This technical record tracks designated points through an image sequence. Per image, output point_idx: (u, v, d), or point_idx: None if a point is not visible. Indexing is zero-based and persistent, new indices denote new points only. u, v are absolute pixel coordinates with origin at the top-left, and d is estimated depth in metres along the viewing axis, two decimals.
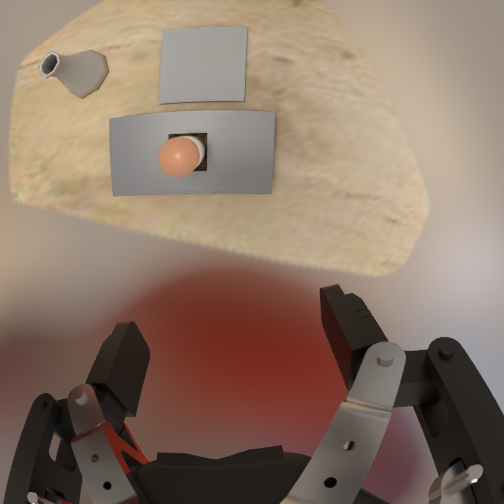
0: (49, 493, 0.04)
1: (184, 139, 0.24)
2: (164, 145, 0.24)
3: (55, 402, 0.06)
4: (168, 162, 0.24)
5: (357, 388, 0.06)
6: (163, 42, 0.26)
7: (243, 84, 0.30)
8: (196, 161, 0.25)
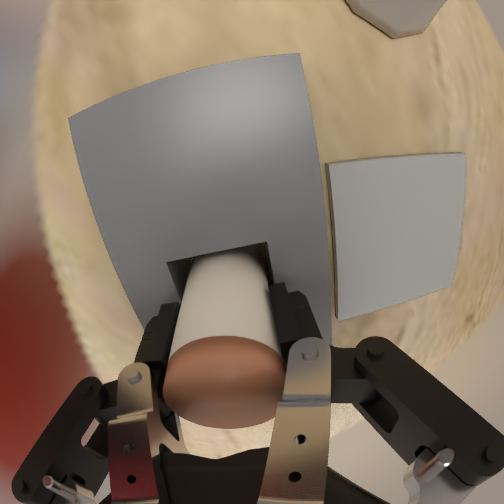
0: (68, 479, 0.04)
1: None
2: (259, 371, 0.07)
3: (103, 390, 0.07)
4: (205, 386, 0.07)
5: (290, 386, 0.06)
6: (448, 157, 0.14)
7: (366, 311, 0.19)
8: (227, 427, 0.08)
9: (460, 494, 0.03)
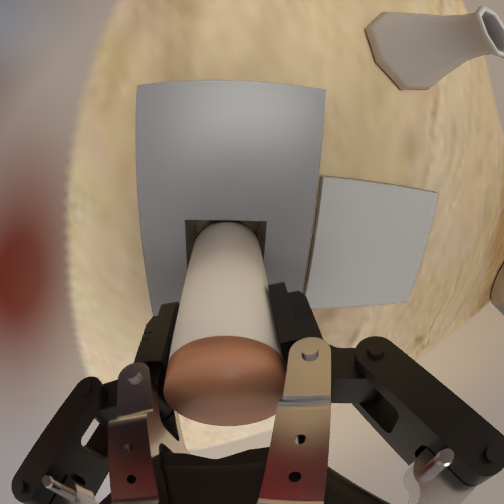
0: (68, 479, 0.04)
1: None
2: (259, 371, 0.07)
3: (103, 390, 0.07)
4: (205, 386, 0.07)
5: (290, 386, 0.06)
6: (422, 193, 0.19)
7: (328, 306, 0.23)
8: (227, 424, 0.08)
9: (460, 494, 0.03)
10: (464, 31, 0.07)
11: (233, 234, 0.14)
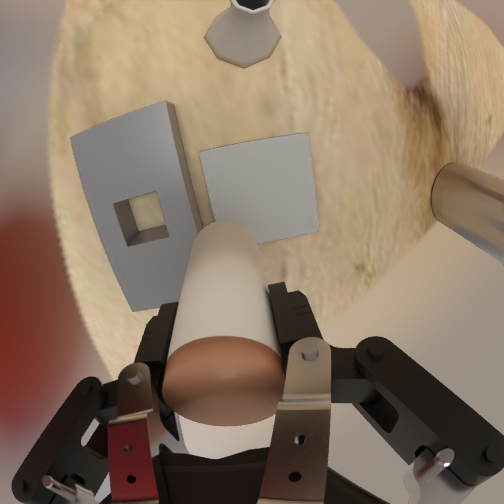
0: (68, 479, 0.04)
1: None
2: (257, 371, 0.07)
3: (103, 390, 0.07)
4: (204, 386, 0.07)
5: (290, 386, 0.06)
6: (289, 137, 0.25)
7: None
8: (226, 424, 0.08)
9: (460, 494, 0.03)
10: (234, 11, 0.14)
11: (232, 234, 0.14)
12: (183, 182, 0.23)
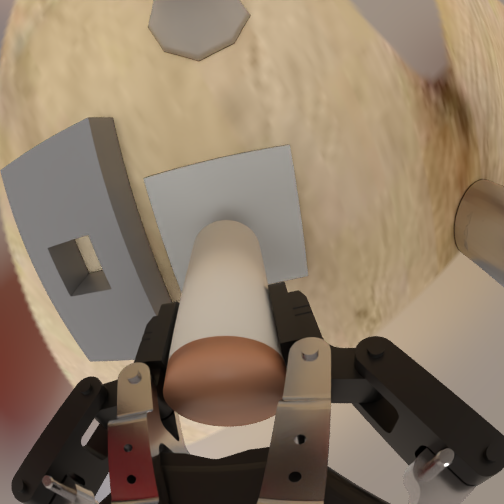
0: (68, 479, 0.04)
1: None
2: (259, 371, 0.07)
3: (103, 389, 0.07)
4: (205, 386, 0.07)
5: (290, 386, 0.06)
6: (263, 152, 0.19)
7: None
8: (227, 425, 0.08)
9: (460, 494, 0.03)
10: None
11: (233, 234, 0.14)
12: (117, 224, 0.17)
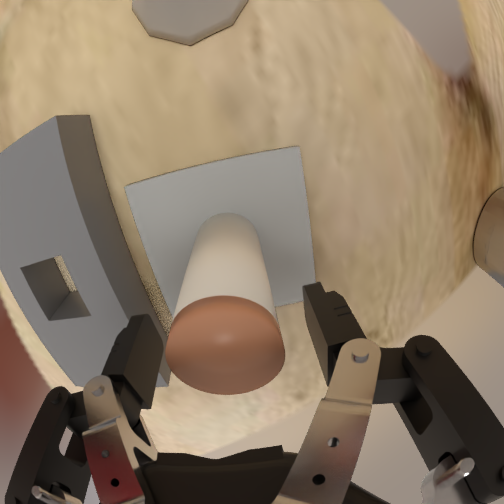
0: (55, 488, 0.04)
1: (279, 364, 0.09)
2: (254, 326, 0.08)
3: (70, 396, 0.07)
4: (205, 343, 0.08)
5: (334, 385, 0.06)
6: (267, 155, 0.15)
7: None
8: (225, 392, 0.09)
9: None
10: None
11: (233, 223, 0.15)
12: (92, 243, 0.13)
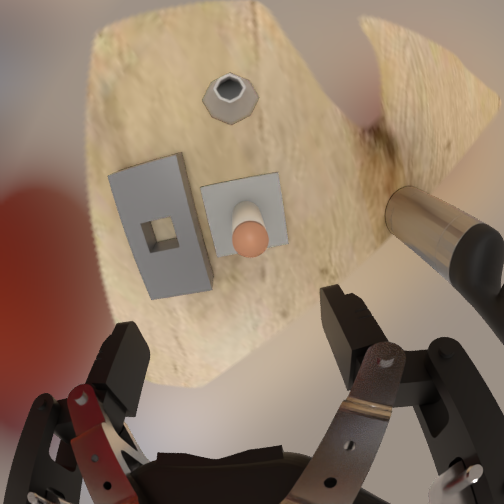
0: (49, 493, 0.04)
1: (267, 243, 0.30)
2: (259, 227, 0.30)
3: (55, 402, 0.06)
4: (245, 233, 0.30)
5: (357, 388, 0.06)
6: (264, 176, 0.37)
7: (232, 253, 0.42)
8: (249, 256, 0.31)
9: None
10: None
11: (250, 204, 0.37)
12: (189, 211, 0.35)
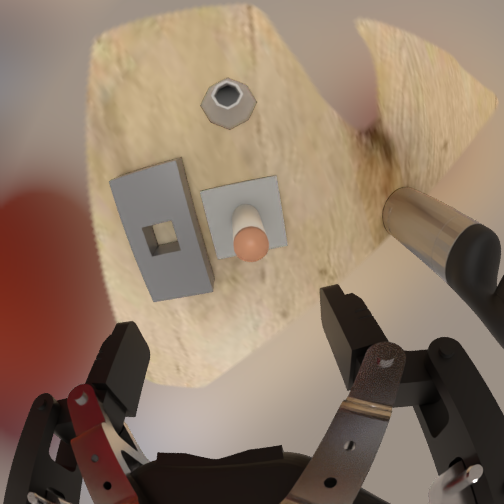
0: (49, 493, 0.04)
1: (267, 247, 0.31)
2: (259, 233, 0.30)
3: (55, 402, 0.06)
4: (245, 239, 0.31)
5: (357, 388, 0.06)
6: (262, 179, 0.38)
7: (232, 255, 0.43)
8: (251, 260, 0.32)
9: None
10: None
11: (249, 208, 0.37)
12: (189, 215, 0.36)
